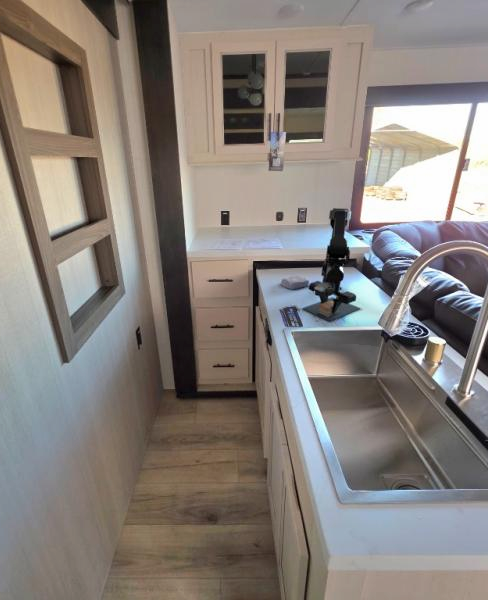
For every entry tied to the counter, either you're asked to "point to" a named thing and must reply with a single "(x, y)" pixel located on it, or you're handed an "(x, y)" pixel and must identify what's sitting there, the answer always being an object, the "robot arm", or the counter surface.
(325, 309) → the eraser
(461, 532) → the counter surface
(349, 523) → the counter surface
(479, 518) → the counter surface
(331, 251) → the robot arm
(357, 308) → the slate mat
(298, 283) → the stone block
